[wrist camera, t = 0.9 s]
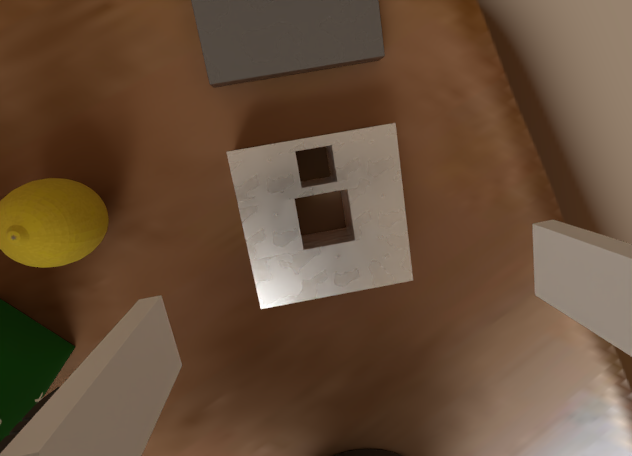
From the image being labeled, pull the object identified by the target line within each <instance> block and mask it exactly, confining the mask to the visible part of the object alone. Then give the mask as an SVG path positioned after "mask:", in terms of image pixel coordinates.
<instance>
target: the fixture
mask: <svg viewBox="0 0 632 456" xmlns="http://www.w3.org/2000/svg"><path fill="white" fill-rule="evenodd" d="M191 1H192V6H193V10H194V15H195V19H196V24H197V28H198V33H199V37H200V42H201V47H202V51H203V56H204V60H205V65H206V69H207V74H208V78H209V83H210V85H211V86H213V87H220V86H226V85H232V84H238V83H244V82H250V81H256V80H262V79H268V78H275V77H281V76H287V75H293V74H299V73H305V72H311V71H317V70H323V69H329V68H335V67H341V66H347V65H353V64H360V63H366V62H372V61H378V60H380V59H381V58H383V57H384V56H385V54H384V46H383V37H382V28H381V19H380V11H379V2H378V0H191Z"/></svg>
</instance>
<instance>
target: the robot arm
mask: <svg viewBox="0 0 632 456" xmlns="http://www.w3.org/2000/svg"><path fill="white" fill-rule="evenodd" d="M532 226H533V254H534V282H535V295H536V296H537V297H539V298H540V299H542V300H543V301H545V302H547V303H548V304H550V305H551V306H553V307H554V308H556V309H558V310H559V311H561V312H562V313H564V314H565V315H567V316H569V317H570V318H572V319H573V320H575V321H576V322H578V323H580V324H581V325H583V326H584V327H586V328H587V329H589V330H591V331H592V332H594V333H595V334H597V335H598V336H600V337H602V338H603V339H605V340H606V341H608V342H609V343H611V344H613V345H614V346H616V347H617V348H619V349H620V350H622V351H624V352H625V353H627V354H628V355H630V356H631V357H632V244H630V243H627V242H624V241H620V240H617V239H613V238H611V237H607V236H604V235H601V234H597V233H595V232H591V231H588V230H585V229H581V228H579V227H575V226H572V225H569V224H566V223H562V222H559V221H556V220H549V221H544V222H539V223H533V224H532ZM181 367H182V363H181V360H180V356H179V353H178V349H177V346H176V343H175V339H174V336H173V333H172V329H171V326H170V323H169V319H168V316H167V313H166V309H165V306H164V303H163V299H162V296H161V295H160V296H155V297H150V298H145V299H139V300H138V301H137V302H136V303H135V304H134V306H133V307H132V308H131V309H130V310H129V311H128V312H127V313H126V314H125V316H124V317H123V318H122V319H121V320H120V321H119V322H118V323H117V324H116V326H115V327H114V328H113V329H112V330H111V331H110V332H109V333H108V334H107V336H106V337H105V338H104V339H103V340H102V341H101V342H100V343H99V344H98V346H97V347H96V348H95V349H94V350H93V351H92V352H91V353H90V354H89V356H88V357H87V358H86V359H85V360H84V361H83V362H82V363H81V364H80V366H79V367H78V368H77V369H76V370H75V371H74V372H73V373H72V374H71V376H70V377H69V378H68V379H67V380H66V381H65V382H64V383H63V384H62V386H61V387H58V388H56V389H55V390H54V391H52V392H51V393H50V394H48V395H47V396H45V397H44V398H43V399H41V400H40V401H39V402H37V403H36V404H35V405H34V406H33V408H32V409H31V410H30V411H29V412H28V413H27V414H26V415H25V416H24V417H23V418H22V421H21V422H19V423H18V424H17V425H16V426H15V427H14V428H13V429H12V430H11V431H10V432H9V433H10V434H9V435H8V436H5V438H4V439H3V440H2V441H1V442H0V456H141V455H142V453H143V451H144V449H145V447H146V444H147V442H148V440H149V438H150V436H151V433H152V431H153V429H154V427H155V424H156V422H157V420H158V418H159V416H160V413H161V411H162V409H163V407H164V405H165V402H166V400H167V398H168V396H169V394H170V391H171V389H172V387H173V385H174V382H175V380H176V378H177V376H178V374H179V371H180V369H181ZM335 456H402V455H399V454H396V453H393V452H389V451H384V450H376V449H362V450H354V451H348V452H344V453H341V454H337V455H335Z"/></svg>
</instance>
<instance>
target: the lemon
mask: <svg viewBox="0 0 632 456" xmlns="http://www.w3.org/2000/svg"><path fill="white" fill-rule="evenodd" d="M108 222H109V219H108V211H107V209H106V206H105V203H104V202H103V201H102V199H101V198H100V196H99V195H98V194H97V193H96V192H94V191H93V190H92V189H91V188H89V187H87V186H86V185H84V184H82V183H80V182H76V181H73V180H70V179H62V178H46V179H41V180H35V181H31V182H29V183H26V184H24V185H22V186H20V187H18V188H16V189H14V190H13V191H11V192H10V193H9V194H8V195H6V196H5V197H4V198H3V199H2V200H1V201H0V249H1V250H2V251H3V252H4V253H5V254H6V255H7V256H8V257H10V258H11V259H13V260H14V261H16V262H19V263H22V264H24V265H27V266H33V267H40V268H45V267H57V266H63V265H66V264H69V263H72V262H75V261H78V260H80V259H82V258H83V257H85V256H86V255H88V254H89V253H91V252H92V251H93V250H95V248H96V247H97V246H98V245H99V244H100V243H101V242H102V240H103V238H104V236H105V234H106V232H107V228H108Z"/></svg>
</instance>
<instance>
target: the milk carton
mask: <svg viewBox="0 0 632 456" xmlns="http://www.w3.org/2000/svg"><path fill="white" fill-rule="evenodd" d="M74 348H75V346H73V345H72V344H70V343H69V342H67V341H66V340H64V339H62V338H61V337H59V336H58V335H56V334H55V333H53V332H52V331H50V330H48V329H47V328H45V327H44V326H42V325H41V324H39V323H37V322H36V321H34V320H33V319H31V318H30V317H28V316H26V315H25V314H23V313H22V312H20V311H19V310H17V309H15V308H14V307H12V306H11V305H9V304H8V303H6V302H5V301H3V300H1V299H0V442H1V441H2V440H3V439H4V438H5V436H8V435H9V434H10V433H9V432H10V431H11V430H12V429H13V428H14V427H15V426H16V425H17V424H18V423H19V422H21V421H22V418H23V417H24V416H25V415H26V414H27V413H28V412H29V411H30V410H31V409H32V408H33V406H34V405H35V404H36V403H37V402H39V401H40V400H41V399H42V398H43V396H44V395H45V393H46V392H47V390H48V389H49V387H50V385H51V384H52V382H53V381H54V379H55V378H56V376H57V375H58V373H59V372H60V370H61V368H62V367H63V365H64V364H65V362H66V361H67V359H68V358H69V356H70V354H71V353H72V351H73V350H74Z"/></svg>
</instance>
